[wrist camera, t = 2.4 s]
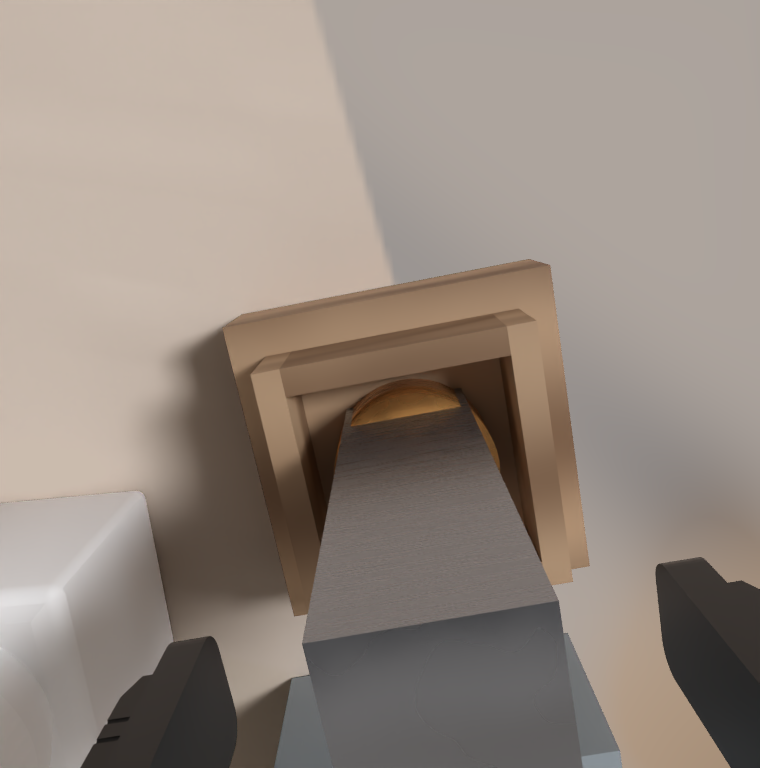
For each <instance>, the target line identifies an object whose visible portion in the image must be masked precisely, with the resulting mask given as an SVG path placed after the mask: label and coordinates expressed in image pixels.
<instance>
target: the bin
mask: <svg viewBox="0 0 760 768" xmlns="http://www.w3.org/2000/svg"><path fill="white" fill-rule="evenodd" d="M563 634H564V641H565V648H566V655H567V662H568V669H569V676H570V683H571V689H572V696H573V703H574V710H575V717H576V724H577V731H578V738H579V745H580V752H581V758H582V765H583V768H622V763H621V756H620V750H619V748H618V745H617V743H616V741H615V739H614V736H613V734H612V732H611V730H610V727H609V725H608V723H607V721H606V718H605V716H604V714H603V712H602V709H601V707H600V705H599V703H598V700H597V698H596V696H595V694H594V691H593V689H592V687H591V685H590V683H589V680H588V678H587V676H586V673H585V671H584V669H583V667H582V664H581V662H580V660H579V658H578V656H577V653H576V651H575V649H574V646H573V644H572V642H571V640H570V638H569V635H568V633H563ZM274 768H333V765H332V761H331V757H330V753H329V749H328V745H327V741H326V737H325V733H324V729H323V725H322V721H321V717H320V713H319V709H318V705H317V701H316V697H315V693H314V689H313V685H312V681H311V677H310V675H309V676H303V677H297V678H292V680H291V685H290V690H289V695H288V700H287V705H286V710H285V715H284V721H283V726H282V731H281V736H280V741H279V746H278V751H277V756H276V761H275V766H274Z"/></svg>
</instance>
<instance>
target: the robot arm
mask: <svg viewBox="0 0 760 768" xmlns="http://www.w3.org/2000/svg"><path fill="white" fill-rule="evenodd" d="M656 585H657V593H658V604H659V613H660V622H661V632H662V641H663V646H664V651H665V655H666V659H667V662H668V665H669V668H670V670H671V672H672V675H673V677H674V679H675V680H676V682H677V684H678V685H679V687H680V688H681V690H682V691H683V693H684V695H685V696H686V698H687V699H688V701H689V703H690V704H691V706H692V707H693V709H694V710H695V712H696V714H697V715H698V717H699V718H700V720H701V721H702V723H703V725H704V726H705V728H706V729H707V731H708V732H709V734H710V736H711V737H712V739H713V740H714V742H715V743H716V745H717V747H718V748H719V750H720V751H721V753H722V754H723V756H724V758H725V759H726V761H727V762H728V764H729V765H730V767H731V768H760V589H758V588H756V587H754V586H752V585H750V584H748V583H745V582H743V581H736V582H730V583H727V582H726V581H725V580H724V579H723V578H722V577H721V576H720V575H719V574H718V573H717V572H716V571H715V569H714V568H712V566H711V565H710V564H709V563H708V562H707V561H706V560H704V558H701V557H698V558H692V559H687V560H680V561H674V562H668V563H661V564H658V565H657V567H656ZM107 721H108V723H107V724H106V725H104V727H103V729H102V730H101V732H100V734H99V736H98V738H97V743H96V744H94V745H93V746H92V748H91V750H90V752H89V753H88V755H87V757H86V759H85V760H84V762H83V764H82V766H81V767H80V768H229V766H230V763H231V759H232V756H233V753H234V749H235V745H236V738H237V719H236V712H235V707H234V703H233V699H232V696H231V692H230V688H229V685H228V681H227V677H226V674H225V670H224V666H223V663H222V659H221V655H220V652H219V648H218V645H217V643H216V641H215V639H214V638H213V637H211V636H208V637H202V638H196V639H190V640H184V641H178V642H172V643H170V644H169V645H168V646H167V648H166V650H165V652H164V654H163V655H162V657H161V659H160V661H159V663H158V665H157V667H156V669H155V671H154V673H153V674H152V675H146V676H142V677H141V678H140V679H139V680H138V681H137V682H136V683H135V684H134V685H133V686H132V687H131V688H130V689H129V690H127V691H126V692H125V693H124V694H123V695H122V696H121V697H120V699H119V701H118V702H117V704H116V706H115V708H114V709H113V711H112V713H111V715H110V716H109V718H108V720H107Z"/></svg>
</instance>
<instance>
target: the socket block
mask: <svg viewBox="0 0 760 768" xmlns="http://www.w3.org/2000/svg"><path fill="white" fill-rule="evenodd" d="M222 329H223V333H224V337H225V341H226V345H227V349H228V353H229V357H230V361H231V365H232V369H233V373H234V377H235V381H236V385H237V389H238V393H239V397H240V401H241V405H242V409H243V413H244V417H245V421H246V425H247V429H248V433H249V437H250V441H251V445H252V449H253V453H254V457H255V461H256V465H257V469H258V473H259V477H260V481H261V485H262V489H263V493H264V497H265V501H266V505H267V509H268V513H269V517H270V521H271V525H272V529H273V533H274V537H275V541H276V545H277V549H278V553H279V557H280V561H281V565H282V569H283V573H284V577H285V581H286V585H287V589H288V593H289V597H290V601H291V605H292V609H293V613H294V616H299V615H305V614H308V610H309V605H310V600H311V594H312V589H313V584H314V579H315V573H316V568H317V563H318V558H319V552H320V547H321V542H322V537H323V531H324V526H325V521H326V516H327V510H328V505H329V500H330V494H331V489H332V484H333V479H334V464H335V457H336V452H337V447H338V442H339V437H340V434H341V430H342V427H343V425H344V421H345V415H346V410H347V409H348V408H354V406H355V405H356V404H357V403H358V402H359V401H360V400H361V399H362V398H363V397H364V396H366V395H367V394H368V393H370V392H371V391H373V390H374V389H376V388H378V387H380V386H382V385H385V384H387V383H390V382H394V381H397V380H403V379H426V380H432V381H436V382H439V383H442V384H444V385H447V386H449V387H451V388H453V389H457V388H461V389H462V392H463V394H464V396H465V397H466V398H467V399H468V400H469V401H470V402H471V403H472V404H473V406H474V407H475V408H476V410H477V411H478V412H479V414H480V416H481V418H482V419H483V421H484V423H485V425H486V427H487V429H488V431H489V433H490V435H491V437H492V439H493V442H494V444H495V447H496V449H497V453H498V457H499V462H500V474H501V476H502V479H503V481H504V483H505V485H506V487H507V489H508V492H509V494H510V496H511V498H512V500H513V502H514V505H515V507H516V509H517V511H518V513H519V516H520V518H521V520H522V522H523V524H524V526H525V529H526V531H527V533H528V535H529V537H530V539H531V542H532V544H533V546H534V548H535V550H536V553H537V555H538V557H539V559H540V561H541V563H542V566H543V568H544V570H545V572H546V574H547V576H548V579H549V581H550V583H551V585H556V584H562V583H568V582H573V578H572V571H571V569H576V568H581V567H587V566H590V565H589V558H588V550H587V544H586V535H585V527H584V521H583V512H582V505H581V497H580V489H579V483H578V474H577V466H576V459H575V452H574V443H573V436H572V428H571V421H570V413H569V406H568V398H567V391H566V382H565V375H564V367H563V360H562V353H561V344H560V337H559V329H558V321H557V314H556V307H555V299H554V291H553V283H552V276H551V268H550V265H548V264H544V263H541V262H537V261H534V260H530V259H527V260H522V261H517V262H512V263H506V264H502V265H496V266H491V267H486V268H480V269H475V270H471V271H465V272H460V273H455V274H449V275H444V276H439V277H434V278H429V279H423V280H419V281H413V282H408V283H403V284H397V285H392V286H387V287H382V288H377V289H372V290H366V291H361V292H356V293H351V294H346V295H340V296H335V297H330V298H325V299H320V300H315V301H309V302H304V303H299V304H294V305H289V306H284V307H278V308H273V309H268V310H263V311H258V312H252V313H247V314H242V315H241V316H239V317H238V318H236V319H235V320H233V321H232V322H230V323H229V324H228V325H226V326H225V327H223V328H222Z"/></svg>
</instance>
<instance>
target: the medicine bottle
mask: <svg viewBox="0 0 760 768" xmlns="http://www.w3.org/2000/svg"><path fill="white" fill-rule="evenodd" d="M172 642H174V640H173V635H172V630H171V625H170V620H169V615H168V609H167V604H166V599H165V594H164V589H163V584H162V579H161V574H160V569H159V564H158V559H157V553H156V548H155V543H154V538H153V533H152V528H151V523H150V518H149V513H148V508H147V502H146V498H145V496H144V494H143V493H142V492H140V491H125V492H114V493H104V494H93V495H82V496H71V497H61V498H50V499H39V500H28V501H18V502H7V503H0V768H80V767H81V766H82V764H83V762H84V760H85V759H86V757H87V755H88V753H89V752H90V750H91V748H92V746H93V745H94V744H96V743H97V738H98V736H99V734H100V732H101V730H102V729H103V727H104V725H106V724H107V723H108V721H107V720H108V718H109V716H110V715H111V713H112V711H113V709H114V708H115V706H116V704H117V702H118V701H119V699H120V697H121V696H122V695H123V694H124V693H125V692H126V691H127V690H129V689H130V688H131V687H132V686H133V685H134V684H135V683H136V682H137V681H138V680H139V679H140V678H141V677H142V676H146V675H152V674H153V673H154V671H155V669H156V667H157V665H158V663H159V661H160V659H161V657H162V655H163V654H164V652H165V650H166V648H167V646H168V645H169V644H170V643H172Z"/></svg>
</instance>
